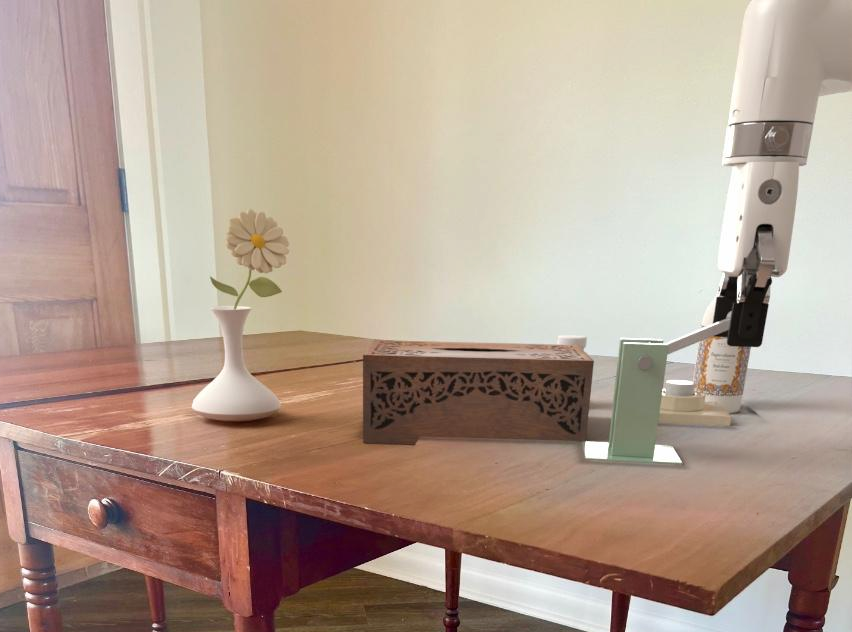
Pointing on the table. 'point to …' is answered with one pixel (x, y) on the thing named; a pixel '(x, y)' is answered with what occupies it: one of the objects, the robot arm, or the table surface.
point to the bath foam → (720, 368)
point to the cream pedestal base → (692, 410)
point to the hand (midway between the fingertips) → (734, 340)
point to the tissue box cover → (475, 391)
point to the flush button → (679, 387)
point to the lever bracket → (636, 407)
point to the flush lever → (699, 335)
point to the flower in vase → (235, 386)
